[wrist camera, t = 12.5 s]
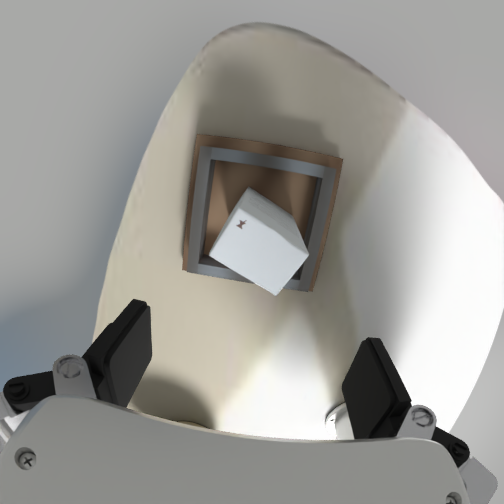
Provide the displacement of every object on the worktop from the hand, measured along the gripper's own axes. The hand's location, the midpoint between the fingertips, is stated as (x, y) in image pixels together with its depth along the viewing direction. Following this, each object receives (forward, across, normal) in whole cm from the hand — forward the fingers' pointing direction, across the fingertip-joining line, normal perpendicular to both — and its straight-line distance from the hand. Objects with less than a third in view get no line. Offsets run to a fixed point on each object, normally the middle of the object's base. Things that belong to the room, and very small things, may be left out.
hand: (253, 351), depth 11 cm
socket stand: (+22, +1, -1) cm, 22 cm away
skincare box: (+21, 0, -1) cm, 21 cm away
